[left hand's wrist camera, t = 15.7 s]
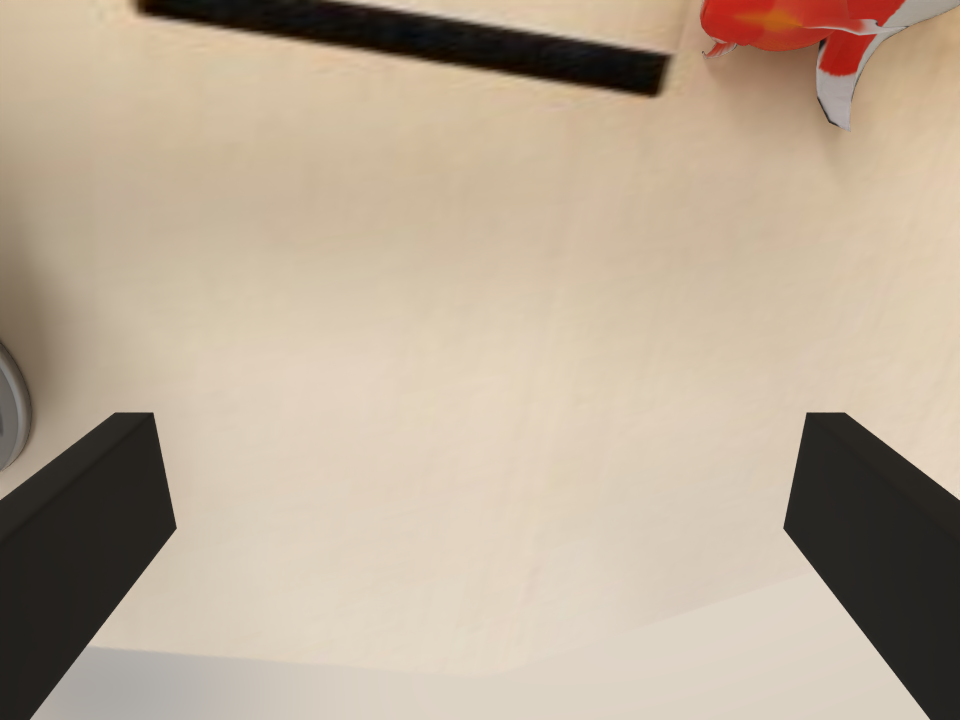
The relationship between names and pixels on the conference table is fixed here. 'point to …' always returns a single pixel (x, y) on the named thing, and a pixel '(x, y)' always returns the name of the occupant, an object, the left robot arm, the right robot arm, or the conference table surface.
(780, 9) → the fish
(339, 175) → the conference table surface
